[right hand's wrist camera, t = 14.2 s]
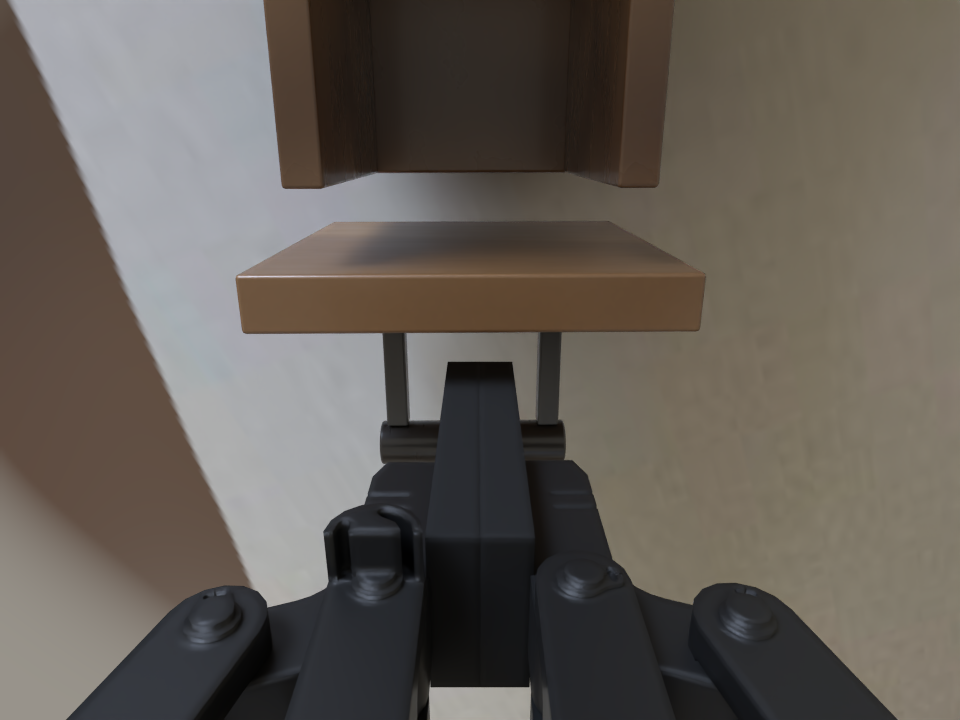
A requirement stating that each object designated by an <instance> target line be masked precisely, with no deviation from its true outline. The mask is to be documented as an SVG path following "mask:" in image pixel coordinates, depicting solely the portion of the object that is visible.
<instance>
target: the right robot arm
mask: <svg viewBox="0 0 960 720" xmlns="http://www.w3.org/2000/svg"><path fill="white" fill-rule="evenodd" d="M323 532H324V542H325V551H326V560H327V570H328V579H329V582H328V585H327V588H325V589H324V590H322V591H320V592H318V593H316V594H314V595H312V596H310V597H307V598H304V599H300V600H297V601H294V602H289V603H285V604H281V605H277V606H272V607H268V608H267V602H266V601H265V599H264V598H263V597H262V596H261V595H260V593H259V592H258V591H255V590H252V589H250V588H247V587H245V586H221V587H216V588H212V589H208V590H204V591H202V592H200V593H197V594H195V595H193V596H191V597H189V598H187V599H185V600H184V601H182V602H181V603H180V604H179V605H177V606H176V607H175V608H174V609H172V610H171V611H170V612H169V613H168V614H167V615H166V616H165V617H164V618H163V619H162V620H161V621H160V622H159V623H158V624H157V625H156V626H155V627H154V628H153V629H152V631H151V632H150V633H149V634H148V635H147V636H146V637H145V638H144V639H143V640H142V641H141V642H140V643H139V644H138V645H137V646H136V647H135V648H134V649H133V650H132V651H131V652H130V654H129V655H128V656H127V657H126V658H125V659H124V660H123V661H122V662H121V663H120V664H119V665H118V666H117V667H116V668H115V669H114V670H113V671H112V672H111V673H110V674H109V675H108V677H107V678H106V679H105V680H104V681H103V682H102V683H101V684H100V685H99V686H98V687H97V688H96V689H95V690H94V691H93V692H92V693H91V694H90V695H89V696H88V697H87V699H86V700H85V701H84V702H83V703H82V704H81V705H80V706H79V707H78V708H77V709H76V710H75V711H74V712H73V713H72V714H71V715H70V716H69V717H68V718H67V719H66V720H430V711H429V687H430V685H431V687H529V685H530V684H531V711H530V720H897V719H896V717H895V716H894V715H893V714H892V713H891V712H890V711H889V710H888V709H887V708H886V707H885V706H884V705H883V704H882V703H881V702H880V701H879V700H878V699H877V698H876V697H875V696H874V695H873V694H872V693H871V692H870V690H869V689H868V688H867V687H866V686H865V685H864V684H863V683H862V682H861V681H860V680H859V679H858V678H857V677H856V676H855V675H854V674H853V673H852V672H851V671H850V670H849V669H848V668H847V667H846V666H845V664H844V663H843V662H842V661H841V660H840V659H839V658H838V657H837V656H836V655H835V654H834V653H833V652H832V651H831V650H830V649H829V648H828V647H827V646H826V645H825V644H824V643H823V642H822V641H821V640H820V638H819V637H818V636H817V635H816V634H815V633H814V632H813V631H812V630H811V629H810V628H809V627H808V626H807V625H806V624H805V623H804V622H803V621H802V620H801V619H800V618H799V617H798V616H797V615H796V614H795V612H794V611H793V610H792V609H790V608H789V607H788V606H787V605H785V604H784V603H783V602H782V601H780V600H779V599H778V598H776V597H775V596H773V595H771V594H769V593H767V592H764V591H762V590H760V589H758V588H756V587H751V586H747V585H742V584H738V583H717V584H714V585H712V586H709V587H706V588H704V589H702V590H701V591H700V593H699V594H698V595H697V596H696V597H695V598H694V602H693V605H690V604H685V603H681V602H677V601H673V600H669V599H664V598H661V597H658V596H655V595H652V594H649V593H647V592H645V591H643V590H641V589H639V588H637V587H635V586H634V585H633V584H632V581H631V579H630V578H629V576H628V575H627V573H626V571H625V570H624V568H622V567H621V566H620V565H619V564H617V563H616V562H615V561H613V559H612V556H611V553H610V549H609V546H608V542H607V539H606V536H605V532H604V529H603V526H602V522H601V519H600V516H599V512H598V509H596V502H595V499H594V496H593V495H592V489H591V486H590V482H589V479H588V475H587V474H586V473H585V472H584V471H583V470H582V469H581V468H580V467H579V466H578V465H577V464H575V463H574V462H573V461H572V460H525V457H524V449H523V441H522V434H521V426H520V418H519V411H518V403H517V395H516V388H515V380H514V372H513V365H512V362H448V365H447V372H446V380H445V388H444V395H443V403H442V411H441V418H440V426H439V434H438V441H437V449H436V457H435V462H388V463H387V464H386V465H385V466H383V467H382V468H381V469H380V470H379V471H378V472H377V473H376V474H375V475H374V476H373V478H372V481H371V485H370V488H369V491H368V497H367V498H366V501H365V505H361V506H358V507H355V508H352V509H349V510H347V511H344V512H343V513H341V514H340V515H338V516H337V517H335V518H334V519H332V520H331V521H330V523H329V524H328V526H327V527H326V529H325V530H324V531H323Z"/></svg>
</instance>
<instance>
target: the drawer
mask: <svg viewBox="0 0 960 720" xmlns="http://www.w3.org/2000/svg"><path fill="white" fill-rule="evenodd" d="M263 1H264V11H265V21H266V31H267V41H268V51H269V61H270V72H271V82H272V92H273V102H274V112H275V122H276V132H277V142H278V152H279V162H280V172H281V182H282V187H283V188H285V189H321V188H325V187H329V186H332V185H336V184H339V183H343V182H346V181H350V180H354V179H357V178H361V177H364V176H368V175H371V174H375V173H537V172H566V173H570V174H573V175H577V176H581V177H584V178H588V179H591V180H595V181H599V182H602V183H606V184H610V185H613V186H617V187H620V188H655V187H657V186H658V184H659V178H660V166H661V154H662V143H663V131H664V119H665V107H666V96H667V84H668V72H669V61H670V49H671V37H672V26H673V14H674V2H675V0H263ZM705 279H706V276H705V273H703V272H701V271H699V270H697V269H695V268H694V267H692V266H690V265H688V264H686V263H684V262H683V261H681V260H679V259H677V258H675V257H674V256H672V255H670V254H668V253H666V252H664V251H663V250H661V249H659V248H657V247H655V246H653V245H652V244H650V243H648V242H646V241H644V240H642V239H641V238H639V237H637V236H635V235H633V234H631V233H630V232H628V231H626V230H624V229H622V228H620V227H619V226H617V225H615V224H613V223H611V222H609V221H508V222H334V223H332V224H330V225H328V226H326V227H324V228H322V229H321V230H319V231H317V232H315V233H313V234H312V235H310V236H308V237H306V238H304V239H302V240H301V241H299V242H297V243H295V244H293V245H292V246H290V247H288V248H286V249H284V250H282V251H281V252H279V253H277V254H275V255H273V256H272V257H270V258H268V259H266V260H264V261H262V262H261V263H259V264H257V265H255V266H253V267H252V268H250V269H248V270H246V271H244V272H242V273H241V274H239V275H237V276H236V285H237V293H238V301H239V309H240V317H241V325H242V331H243V333H246V334H311V333H383V349H384V368H385V386H386V405H387V421H384V422H383V423H382V426H381V433H380V455H381V461H382V463H383V464H387V463H388V462H435V457H436V449H437V441H438V434H439V426H440V420H437V421H409V419H410V408H409V384H408V359H407V335H406V333H493V332H538V351H537V386H536V420H520V426H521V434H522V441H523V449H524V457H525V460H564V459H565V451H566V438H565V427H564V423H563V421H562V420H558V409H559V385H560V360H561V336H562V332H675V331H698V330H699V329H700V323H701V314H702V305H703V297H704V288H705Z"/></svg>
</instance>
